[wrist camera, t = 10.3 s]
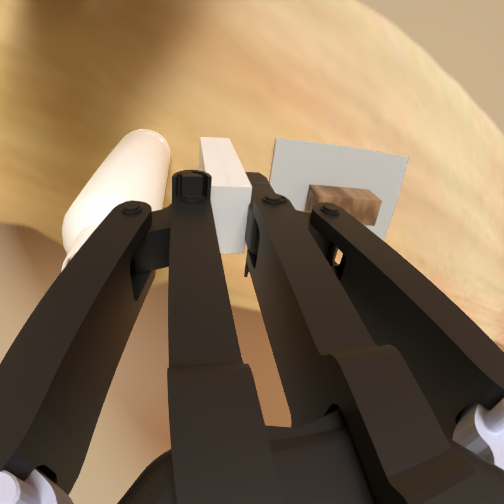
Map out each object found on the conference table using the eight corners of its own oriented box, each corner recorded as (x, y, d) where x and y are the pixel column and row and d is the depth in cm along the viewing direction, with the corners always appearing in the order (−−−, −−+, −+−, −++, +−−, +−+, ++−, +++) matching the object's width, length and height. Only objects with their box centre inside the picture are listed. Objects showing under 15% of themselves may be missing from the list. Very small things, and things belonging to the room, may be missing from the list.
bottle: (179, 170, 45) (173, 304, 22) (129, 190, 45) (81, 334, 22) (158, 119, 40) (116, 204, 17) (106, 142, 40) (18, 252, 17)
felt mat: (275, 137, 44) (276, 138, 44) (407, 157, 50) (409, 157, 49) (260, 244, 54) (260, 246, 54) (381, 245, 59) (382, 246, 59)
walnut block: (319, 195, 45) (382, 200, 48) (309, 184, 49) (368, 189, 51) (313, 223, 48) (374, 225, 50) (304, 210, 51) (362, 213, 54)
